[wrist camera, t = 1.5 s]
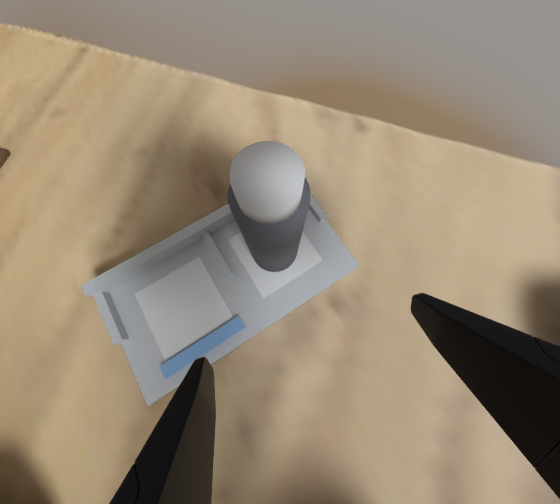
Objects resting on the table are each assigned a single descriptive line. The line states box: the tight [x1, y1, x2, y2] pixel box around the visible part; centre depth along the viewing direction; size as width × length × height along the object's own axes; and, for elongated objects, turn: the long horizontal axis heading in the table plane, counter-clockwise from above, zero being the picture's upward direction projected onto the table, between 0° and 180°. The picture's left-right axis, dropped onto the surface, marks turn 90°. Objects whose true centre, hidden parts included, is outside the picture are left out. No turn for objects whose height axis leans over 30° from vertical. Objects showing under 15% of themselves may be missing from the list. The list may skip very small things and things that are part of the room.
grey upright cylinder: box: [228, 141, 310, 272], centre depth 17 cm, size 5×5×13 cm
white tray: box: [81, 193, 360, 406], centre depth 22 cm, size 23×12×2 cm, turn 122°
